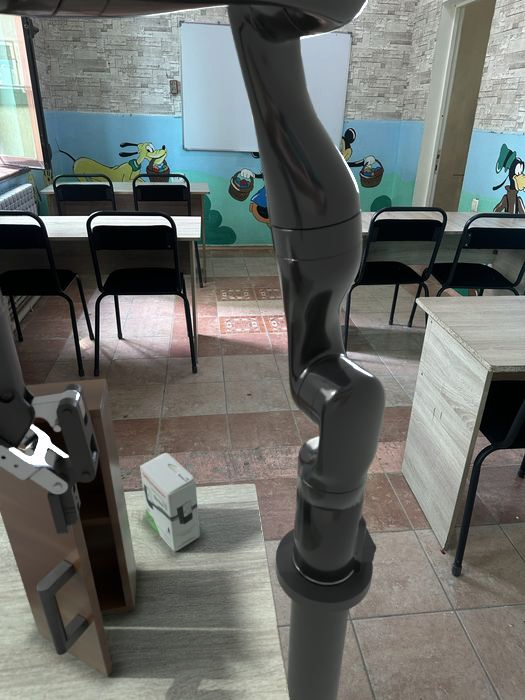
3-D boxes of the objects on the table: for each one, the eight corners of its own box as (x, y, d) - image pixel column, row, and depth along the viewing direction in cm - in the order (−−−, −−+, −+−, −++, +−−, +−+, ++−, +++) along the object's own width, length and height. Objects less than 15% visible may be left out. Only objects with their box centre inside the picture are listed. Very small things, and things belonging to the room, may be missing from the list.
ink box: (145, 521, 78) (137, 463, 73) (171, 506, 81) (165, 449, 76) (174, 554, 72) (168, 494, 67) (201, 537, 75) (197, 478, 70)
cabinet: (134, 610, 64) (100, 409, 50) (43, 625, 62) (-20, 420, 48) (136, 569, 70) (106, 378, 55) (53, 582, 68) (-1, 387, 53)
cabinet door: (84, 708, 53) (22, 490, 39) (13, 660, 58) (-65, 450, 44) (113, 669, 57) (67, 457, 43) (45, 627, 62) (-18, 423, 48)
